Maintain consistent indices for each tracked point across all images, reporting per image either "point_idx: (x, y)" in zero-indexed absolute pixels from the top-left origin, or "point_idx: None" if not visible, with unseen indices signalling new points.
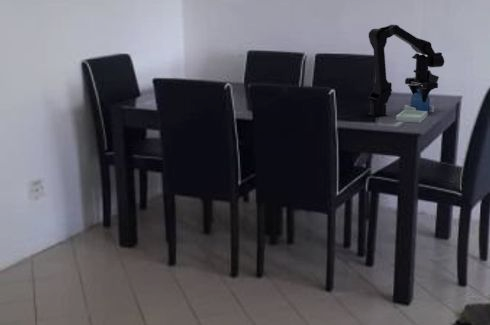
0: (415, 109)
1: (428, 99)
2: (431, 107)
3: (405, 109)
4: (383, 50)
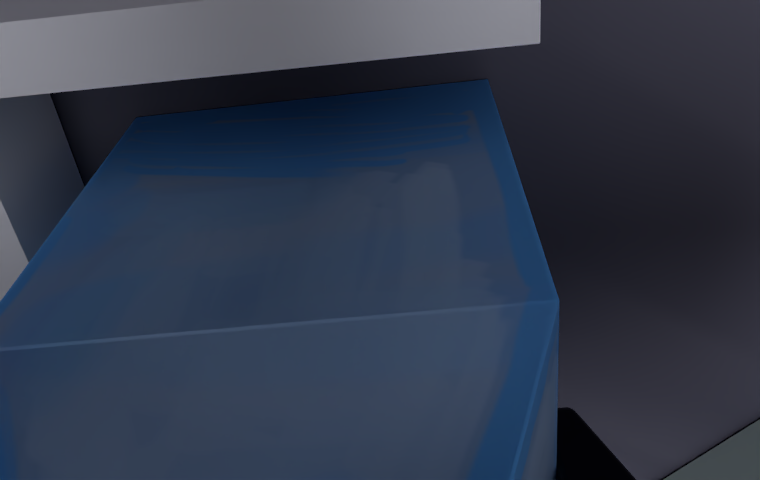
0: None
1: (558, 349)
2: (490, 39)
3: None
4: None
